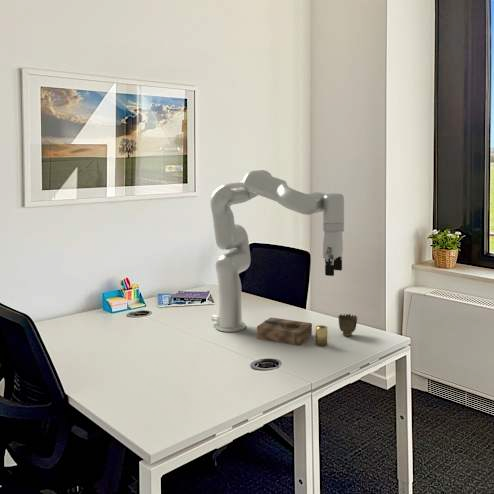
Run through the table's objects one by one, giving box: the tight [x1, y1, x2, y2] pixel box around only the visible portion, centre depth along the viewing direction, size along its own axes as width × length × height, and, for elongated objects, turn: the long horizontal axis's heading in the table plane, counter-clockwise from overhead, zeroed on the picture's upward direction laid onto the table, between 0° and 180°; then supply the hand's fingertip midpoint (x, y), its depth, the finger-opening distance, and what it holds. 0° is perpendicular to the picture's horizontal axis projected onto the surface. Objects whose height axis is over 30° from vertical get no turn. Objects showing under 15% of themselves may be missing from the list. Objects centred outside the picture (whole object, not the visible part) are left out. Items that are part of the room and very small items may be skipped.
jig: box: [256, 317, 313, 346], centre depth 222 cm, size 18×13×6 cm
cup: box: [337, 313, 358, 338], centre depth 222 cm, size 8×7×8 cm
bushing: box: [315, 324, 328, 348], centre depth 213 cm, size 4×4×7 cm
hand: (333, 272), depth 209 cm, fingers open, 9 cm apart
